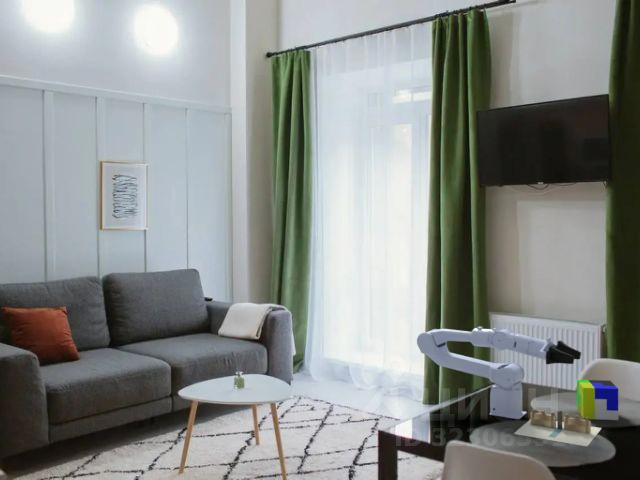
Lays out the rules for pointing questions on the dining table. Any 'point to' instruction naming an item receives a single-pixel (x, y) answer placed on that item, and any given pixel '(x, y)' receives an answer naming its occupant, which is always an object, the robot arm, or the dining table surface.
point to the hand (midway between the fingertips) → (577, 358)
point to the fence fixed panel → (546, 419)
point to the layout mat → (558, 434)
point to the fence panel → (577, 424)
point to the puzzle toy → (597, 399)
